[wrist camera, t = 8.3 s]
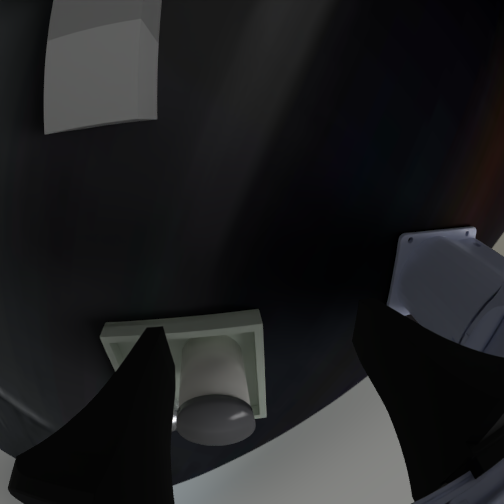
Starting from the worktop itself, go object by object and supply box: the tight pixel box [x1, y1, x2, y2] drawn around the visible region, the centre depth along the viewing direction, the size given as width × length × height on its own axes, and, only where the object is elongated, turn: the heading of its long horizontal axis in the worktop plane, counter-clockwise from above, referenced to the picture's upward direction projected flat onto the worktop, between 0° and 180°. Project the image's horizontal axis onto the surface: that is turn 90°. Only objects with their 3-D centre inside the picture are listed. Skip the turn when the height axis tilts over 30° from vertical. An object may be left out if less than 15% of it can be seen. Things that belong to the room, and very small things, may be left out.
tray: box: [100, 309, 267, 419], centre depth 23 cm, size 12×12×2 cm
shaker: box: [176, 335, 255, 446], centre depth 19 cm, size 5×5×7 cm
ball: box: [172, 398, 179, 431], centre depth 23 cm, size 4×4×4 cm
